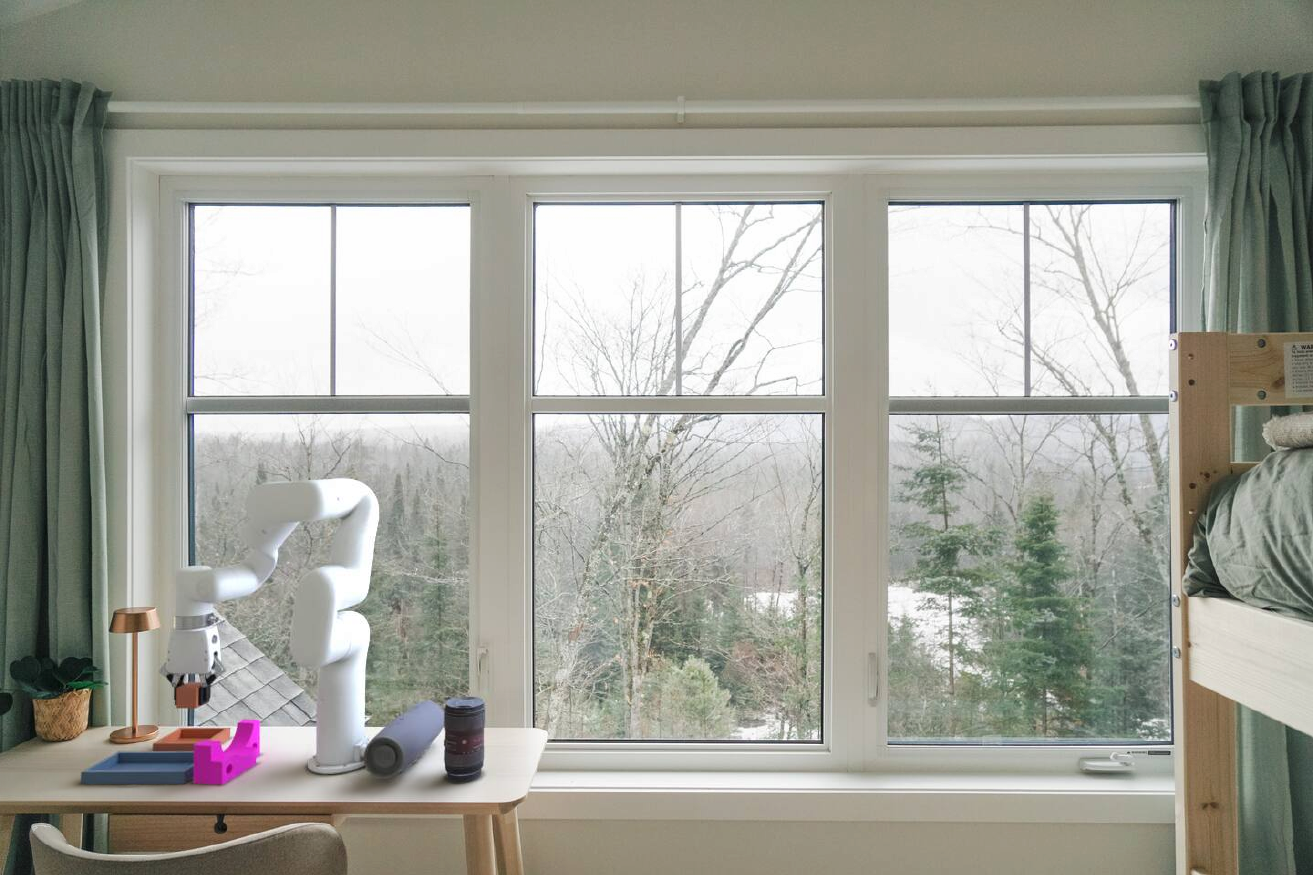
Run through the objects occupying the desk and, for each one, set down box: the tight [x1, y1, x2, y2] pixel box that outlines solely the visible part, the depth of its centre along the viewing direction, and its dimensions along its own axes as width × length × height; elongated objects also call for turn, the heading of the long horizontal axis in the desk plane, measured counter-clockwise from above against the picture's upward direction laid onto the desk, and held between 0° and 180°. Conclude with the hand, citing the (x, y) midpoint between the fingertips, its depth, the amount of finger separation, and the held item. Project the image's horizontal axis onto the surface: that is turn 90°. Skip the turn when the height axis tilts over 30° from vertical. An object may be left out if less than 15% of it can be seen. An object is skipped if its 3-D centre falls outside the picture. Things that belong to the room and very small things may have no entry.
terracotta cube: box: [175, 681, 201, 709], centre depth 173 cm, size 4×4×4 cm
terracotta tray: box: [152, 727, 231, 751], centre depth 173 cm, size 12×10×2 cm
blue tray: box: [80, 750, 194, 785], centre depth 158 cm, size 21×11×2 cm, turn 90°
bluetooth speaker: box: [364, 700, 444, 779], centre depth 164 cm, size 23×9×10 cm, turn 175°
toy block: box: [193, 718, 261, 786], centre depth 160 cm, size 15×6×8 cm, turn 172°
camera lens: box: [443, 696, 486, 784], centre depth 157 cm, size 8×8×15 cm
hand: (192, 702), depth 173 cm, fingers closed on terracotta cube, 4 cm apart
